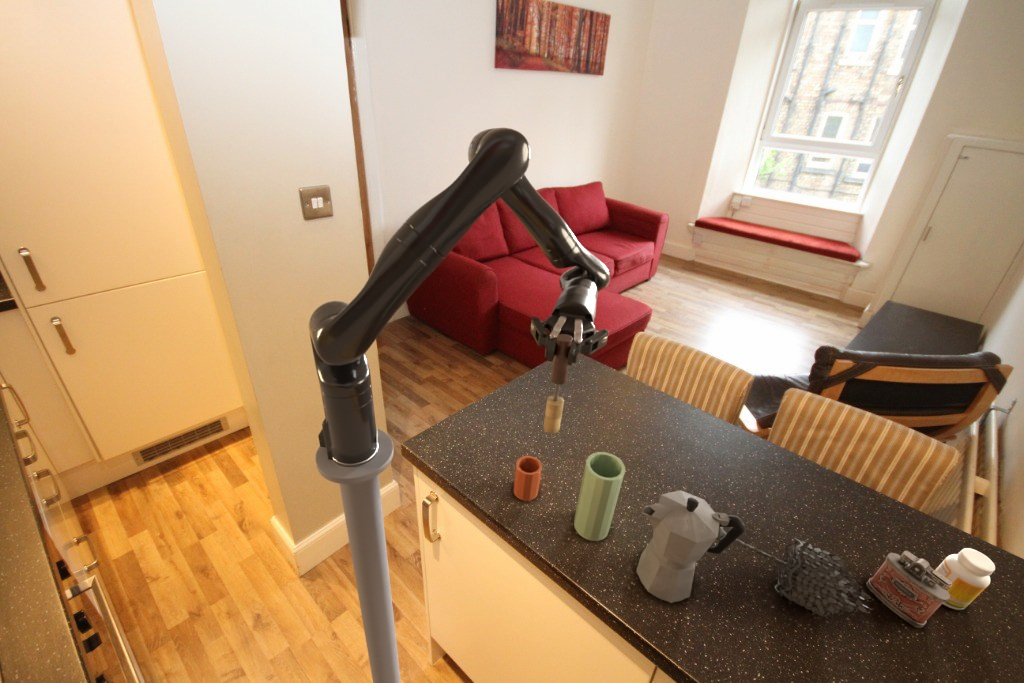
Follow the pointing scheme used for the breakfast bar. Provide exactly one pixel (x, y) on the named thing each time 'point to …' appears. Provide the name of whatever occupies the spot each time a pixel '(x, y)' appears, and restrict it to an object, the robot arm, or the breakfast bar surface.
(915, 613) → the lighter
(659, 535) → the coffeepot
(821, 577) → the massage brush
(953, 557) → the supplement bottle
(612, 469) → the vase
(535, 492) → the pot
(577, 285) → the robot arm
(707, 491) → the breakfast bar surface
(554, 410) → the bottle brush
